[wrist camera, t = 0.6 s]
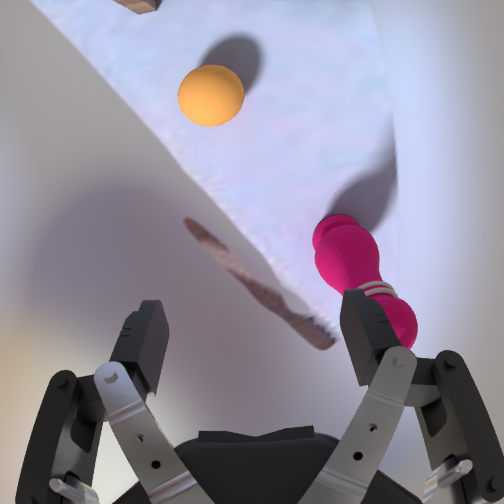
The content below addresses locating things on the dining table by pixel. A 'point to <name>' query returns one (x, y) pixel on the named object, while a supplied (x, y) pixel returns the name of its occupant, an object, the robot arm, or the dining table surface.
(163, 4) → the dining table surface
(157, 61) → the dining table surface
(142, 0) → the bridge
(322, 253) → the pepper mill
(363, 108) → the dining table surface
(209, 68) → the ball
